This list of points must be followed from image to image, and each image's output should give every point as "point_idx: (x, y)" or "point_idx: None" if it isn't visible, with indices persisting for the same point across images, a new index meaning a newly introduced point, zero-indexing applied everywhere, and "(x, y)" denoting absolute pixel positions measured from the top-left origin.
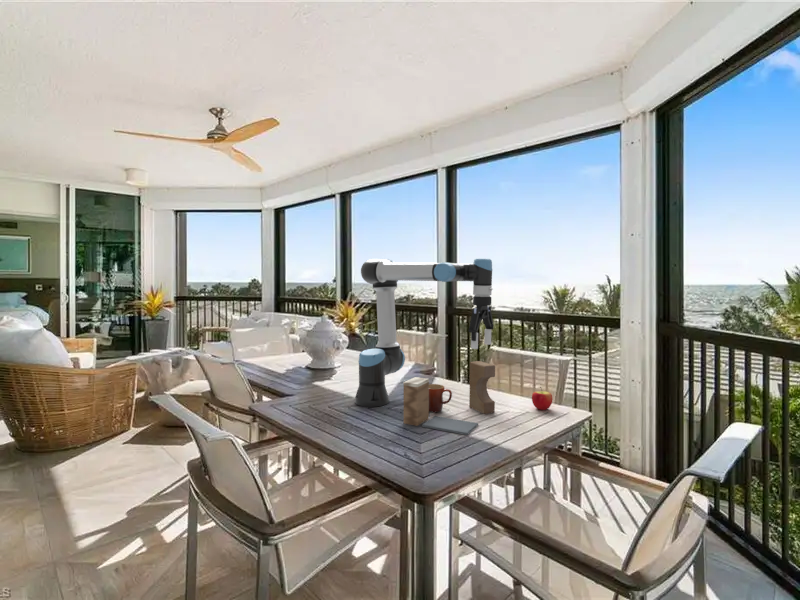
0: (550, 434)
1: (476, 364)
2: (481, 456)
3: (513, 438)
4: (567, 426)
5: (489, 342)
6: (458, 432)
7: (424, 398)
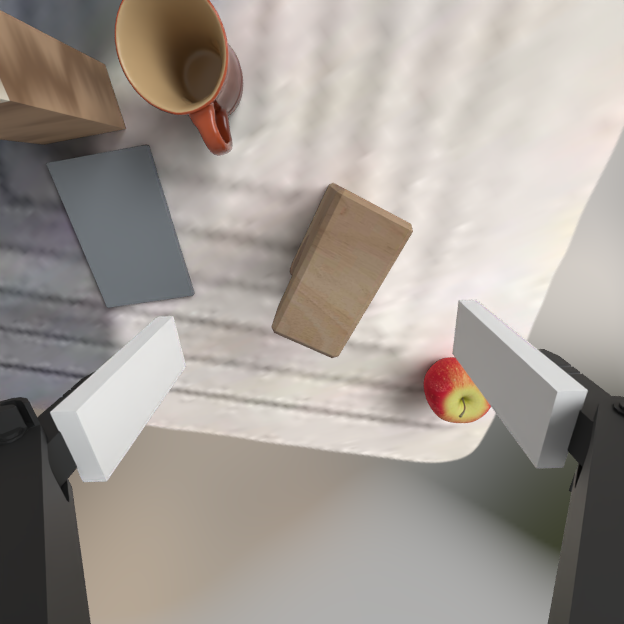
0: (260, 439)
1: (305, 259)
2: (42, 382)
3: (179, 393)
4: (335, 450)
5: (461, 357)
6: (99, 283)
7: (27, 122)
